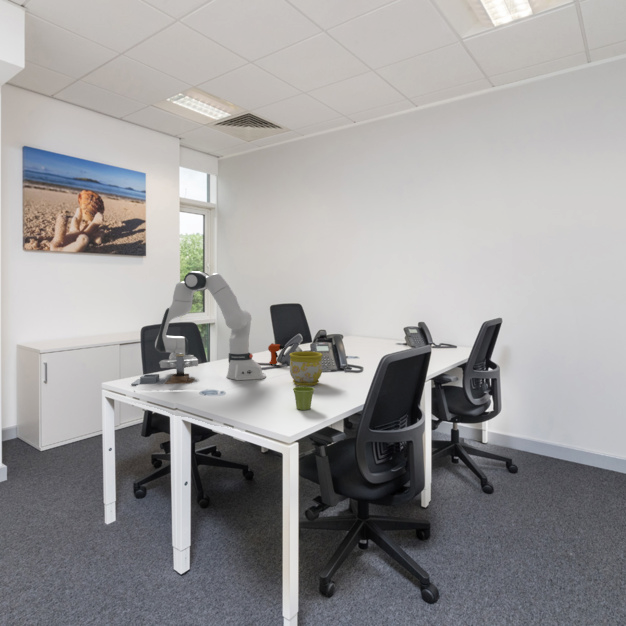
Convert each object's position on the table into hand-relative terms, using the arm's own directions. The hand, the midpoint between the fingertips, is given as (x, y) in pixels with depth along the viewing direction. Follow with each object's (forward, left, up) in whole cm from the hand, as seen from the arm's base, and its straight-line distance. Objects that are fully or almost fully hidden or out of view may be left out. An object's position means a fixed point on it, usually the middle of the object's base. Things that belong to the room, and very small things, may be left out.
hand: (180, 365), depth 234 cm
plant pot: (-62, +55, -10) cm, 83 cm away
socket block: (0, -1, -10) cm, 10 cm away
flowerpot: (-68, +7, -10) cm, 69 cm away
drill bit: (0, -1, -9) cm, 9 cm away
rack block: (+16, -1, -10) cm, 19 cm away
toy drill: (-56, -48, -10) cm, 74 cm away
